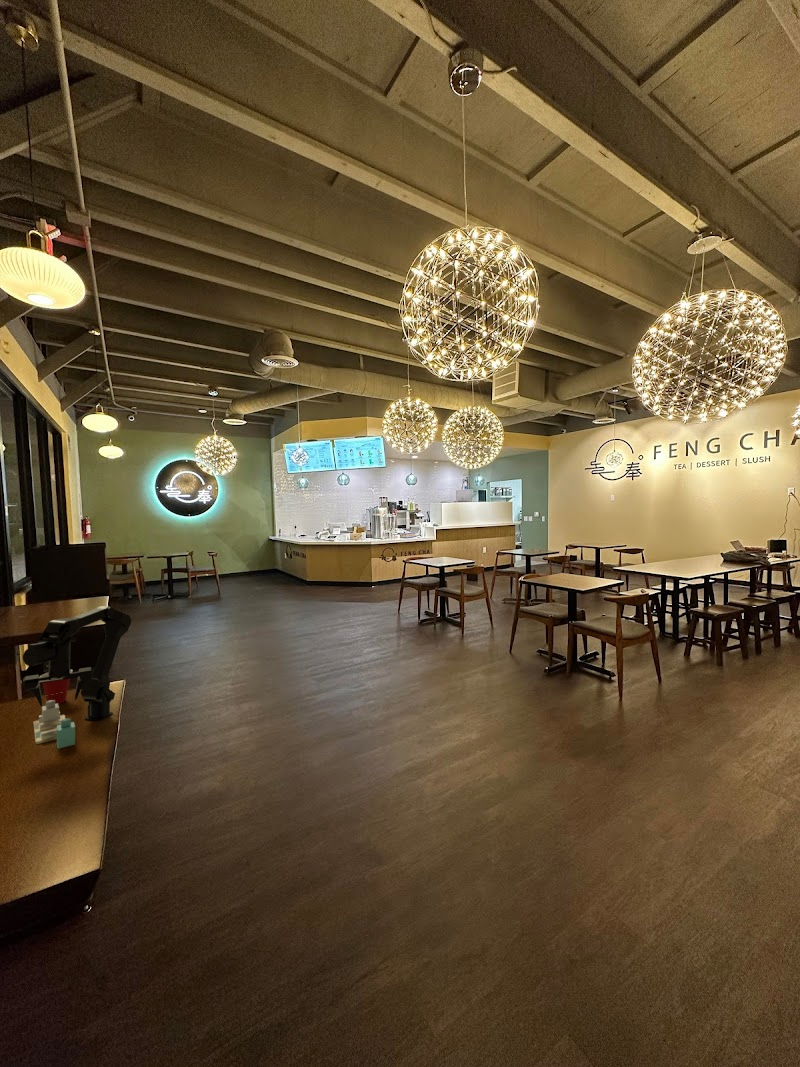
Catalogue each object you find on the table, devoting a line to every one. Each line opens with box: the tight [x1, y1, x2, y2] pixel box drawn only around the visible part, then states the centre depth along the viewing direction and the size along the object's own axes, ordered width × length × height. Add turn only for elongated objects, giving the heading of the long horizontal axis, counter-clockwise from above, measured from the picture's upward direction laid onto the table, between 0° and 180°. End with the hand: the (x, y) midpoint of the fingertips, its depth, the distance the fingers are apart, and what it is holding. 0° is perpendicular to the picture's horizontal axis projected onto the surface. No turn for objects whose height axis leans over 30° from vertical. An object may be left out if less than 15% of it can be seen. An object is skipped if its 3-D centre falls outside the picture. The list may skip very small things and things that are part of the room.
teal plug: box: [56, 718, 76, 749], centre depth 145 cm, size 4×4×8 cm
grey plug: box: [41, 700, 60, 723], centre depth 157 cm, size 4×4×8 cm
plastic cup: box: [39, 668, 74, 705], centre depth 176 cm, size 11×11×12 cm
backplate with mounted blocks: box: [32, 710, 67, 745], centre depth 154 cm, size 9×19×3 cm, turn 42°
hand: (58, 702), depth 148 cm, fingers open, 9 cm apart
